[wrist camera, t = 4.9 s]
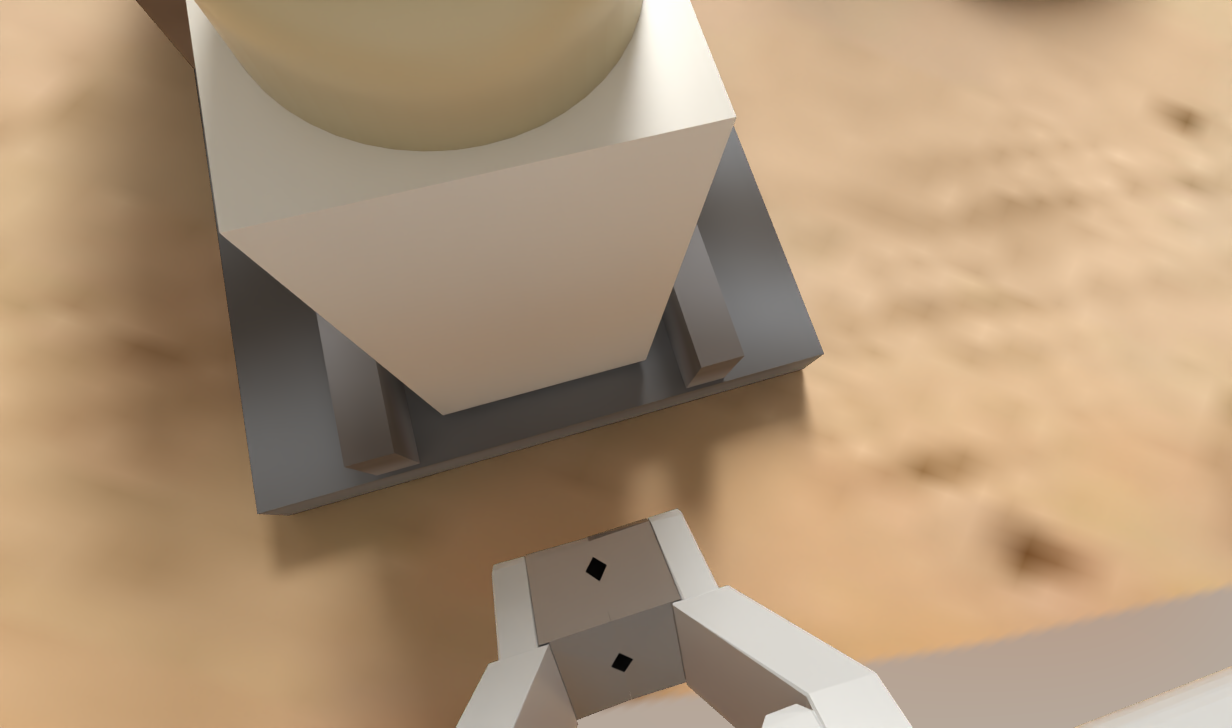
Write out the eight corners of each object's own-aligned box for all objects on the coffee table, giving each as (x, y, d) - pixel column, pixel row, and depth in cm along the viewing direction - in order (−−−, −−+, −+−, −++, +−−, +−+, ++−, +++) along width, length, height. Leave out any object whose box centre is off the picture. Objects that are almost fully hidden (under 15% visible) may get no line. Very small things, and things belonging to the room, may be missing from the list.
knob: (645, 359, 15) (808, -76, 4) (442, 415, 14) (17, 68, 3) (589, 185, 16) (603, -501, 5) (400, 228, 15) (-12, -451, 5)
